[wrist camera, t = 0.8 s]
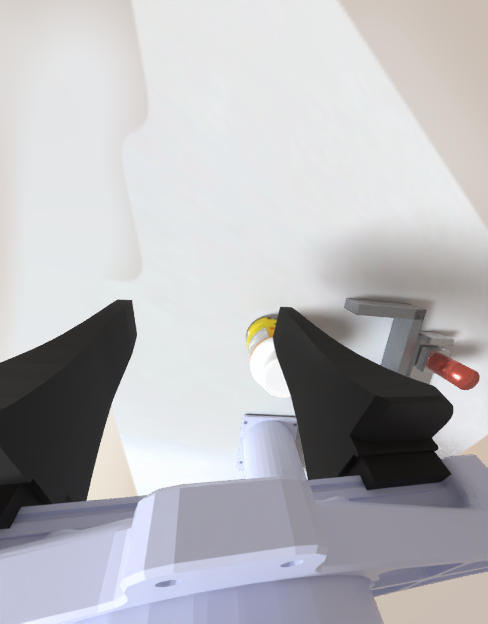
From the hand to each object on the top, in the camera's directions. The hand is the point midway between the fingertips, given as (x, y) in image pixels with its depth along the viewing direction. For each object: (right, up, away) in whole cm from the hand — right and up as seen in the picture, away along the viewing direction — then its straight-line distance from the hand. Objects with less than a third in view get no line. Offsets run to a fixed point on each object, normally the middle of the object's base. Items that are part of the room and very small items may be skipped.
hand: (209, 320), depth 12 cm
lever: (+26, -5, +18) cm, 32 cm away
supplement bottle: (+5, -2, +18) cm, 19 cm away
